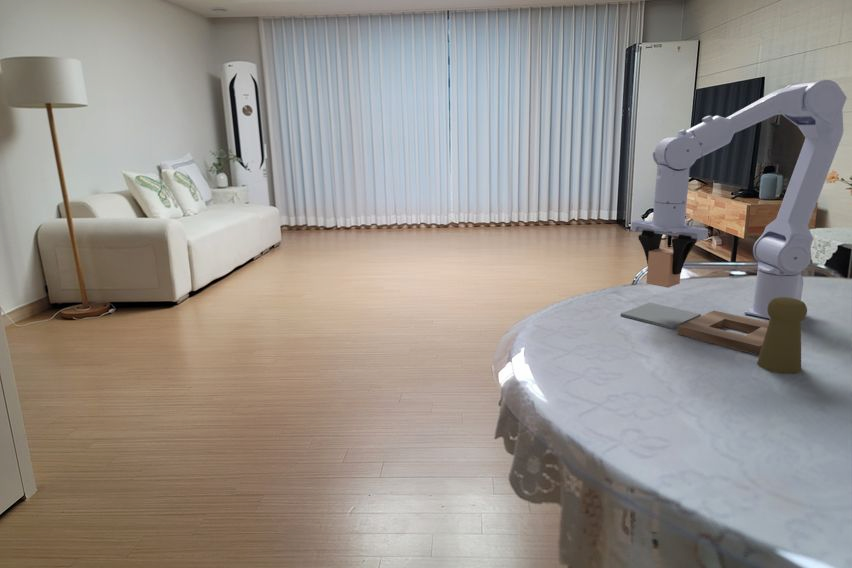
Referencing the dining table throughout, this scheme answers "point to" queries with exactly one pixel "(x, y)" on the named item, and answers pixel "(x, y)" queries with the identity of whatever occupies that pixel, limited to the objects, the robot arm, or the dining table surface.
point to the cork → (783, 336)
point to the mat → (661, 315)
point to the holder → (710, 332)
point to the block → (661, 268)
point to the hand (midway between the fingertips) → (664, 271)
